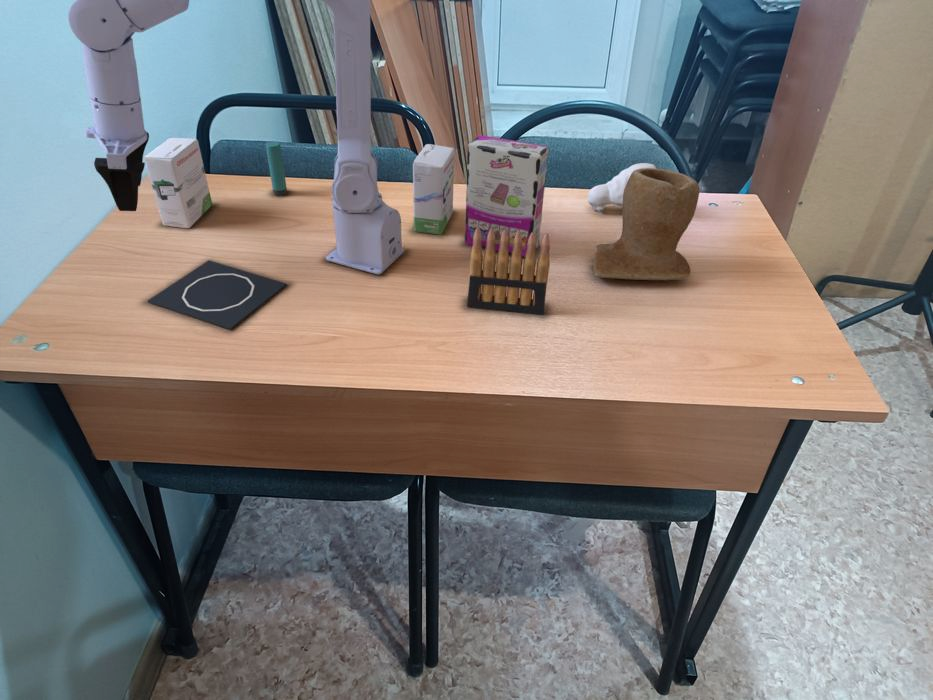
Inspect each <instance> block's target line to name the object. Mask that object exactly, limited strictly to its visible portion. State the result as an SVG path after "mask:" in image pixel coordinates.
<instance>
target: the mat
mask: <svg viewBox="0 0 933 700" xmlns="http://www.w3.org/2000/svg"><path fill="white" fill-rule="evenodd" d="M287 286H288V284H287V283H286V282H283V281H281V280H276V279H272V278H269V277H266V276H264V275H263V276H262V275H260V274H256V273H253V272H249V271H247V270H243V269H239V268H236V267H233V266H229V265H226V264H222V263H220V262H216V261H212V260H207V261H206V262H204V263H202V264H201V265H199V266H198V267H196V268H195V269H193V270H191V271H190V272H189V273H187V274H186V275H184V276H183V277H181V278H179V279H178V280H177V281H175V282H174V283H172V284H170V285H169V286H168V287H166V288H164V289H163V290H161V291H160V292H158V293H157V294H155V295H154V296H152V297H151V298H150V299H148V300H147V303H148V304H151V305H154V306H157V307H160V308H163V309H167V310H169V311H172V312H174V313H175V312H176V313H178V314H181V315H184V316H187V317H190V318H192V319H195V320H199V321H202V322H204V323H208V324H211V325H214V326H216V327H219V328H223V329H226V330H229V331H232V330H234V329H235V328H236V326H238V325H239V324H240V323H242V322H243V321H244V320H245V319H247V318H248V317H249V316H251V315H252V314H253V313H254V312H256V311H257V310H258V309H259V308H261V307H262V306H263V305H264V304H266V303H267V302H269V300H271V299H272V298H273V297H274V296H275V295H277V294H278V293H279V292H280V291H281V290H283V289H284V288H285V287H287Z"/></svg>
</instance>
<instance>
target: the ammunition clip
mask: <svg viewBox="0 0 933 700" xmlns="http://www.w3.org/2000/svg"><path fill="white" fill-rule="evenodd" d="M471 247H472V248H471V253H470V258H469V259H470V261H469V278H468V279H469V280H468V281H469V282H468V291H467V301H466V307H467V308H469V309H477V310H479V309H480V310H487V311H488V310H489V311H498V312H499V311H500V312H509V313H517V314H527V315H528V314H529V315H539V316H544V315H545V307H546V297H547V296H546V294H547V286H548V278H549V271H550V250H551V240H550V236H549V233H548V232H546V233H545V234H544V236H543V238H542V241H541V244H540V250H539V255H538V259H536V252H537V251H536V250H537V248H536V238H535V234H534V232H532V233H531V235H530V237H529V240H528V243H527V249H526V254H525V257H522V236H521V232H520V231H518V232H517V233H516V236H515V239H514V243H513V250H512V255H511V254H508V252H509V249H508V247H509V239H508V233H507V230H506V229H505V230H504V231H503V233H502V236H501V239H500V246H499V252H498V254H497V256H496V251H495V234H494V230H493V228H491V229H490V231H489V233H488V236H487V241H486V249H485V250H484V255H483V248H482V236H481V231H480V228H479V227H477V228H476V231H475V234H474V238H473V246H471ZM509 255H510V256H509ZM523 258H524V259H523ZM536 260H537V261H536Z"/></svg>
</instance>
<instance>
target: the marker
mask: <svg viewBox="0 0 933 700" xmlns="http://www.w3.org/2000/svg"><path fill="white" fill-rule="evenodd" d="M265 148H266V149H265V150H266V156H267V163H268V168H269V174H270V175H269V176H270V181H271V188H272V193H273V196H275V197H283V196H286V195H287V194H288V188H287V182H286V181H287V180H286V174H285V173H286V172H285V168H284V160H283V155H282V147H281V143H280V142H279V141H277V140H276V141H275V140H274V141H272V140H271V141H268V142H266V143H265Z"/></svg>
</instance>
